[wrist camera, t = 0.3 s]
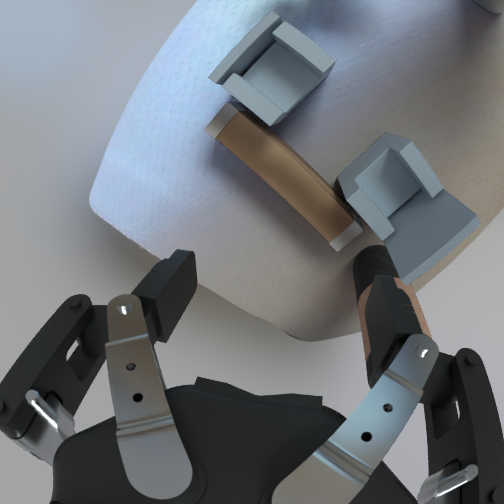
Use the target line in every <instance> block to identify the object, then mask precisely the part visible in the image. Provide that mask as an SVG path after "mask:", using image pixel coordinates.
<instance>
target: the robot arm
mask: <svg viewBox="0 0 504 504" xmlns="http://www.w3.org/2000/svg"><path fill="white" fill-rule="evenodd" d="M475 1H476V2H477V3H478V4H479V5H480V6H481V7H483V8H484V9H485V10H487V11H489V12H491V13H494V14H499V13H503V12H504V0H475ZM196 287H197V273H196V262H195V254H194V252H193V251H187V250H180V249H177V250H176V251H175V252H174V253H173V254H172V255H171V257H170V258H169V259H166V258H165V259H164V260H162V261H160V262H159V263H157V264H156V265H155V266H154V267H153V268H152V269H151V272H149V273H148V274H147V275H146V277H144V279H143V280H142V281H141V282H140V283H139V284H138V285H137V287H136V288H135V289H134V290H133V291H132V293H131V294H123V295H119V296H117V297H115V298H113V299H112V300H111V301H110V302H109V303H108V305H92V302H91V300H90V298H89V297H88V296H87V295H84V294H78V295H74V296H72V297H70V298H68V299H67V300H66V301H65V302H64V303H63V304H62V305H61V306H60V307H59V308H58V309H57V311H56V312H55V313H54V314H53V315H52V316H51V318H50V319H49V320H48V321H47V322H46V323H45V325H44V326H43V327H42V328H41V329H40V331H39V332H38V333H37V334H36V336H35V337H34V338H33V339H32V341H31V342H30V343H29V345H28V346H27V347H26V348H25V350H24V351H23V352H22V354H21V355H20V356H19V358H18V359H17V360H16V362H15V363H14V365H13V366H12V367H11V369H10V370H9V372H8V373H7V374H6V376H5V377H4V379H3V380H2V382H1V383H0V430H1V431H2V432H3V433H4V434H5V435H6V436H7V437H8V438H9V439H11V440H12V441H13V442H15V443H16V444H17V445H19V446H20V447H21V448H23V449H24V450H25V451H28V452H30V453H31V454H33V455H34V456H36V457H37V458H38V459H41V460H44V461H45V462H47V463H48V464H50V465H51V466H52V467H53V492H52V498H51V501H50V504H504V439H503V433H502V428H501V423H500V419H499V414H498V411H497V407H496V402H495V399H494V395H493V392H492V388H491V385H490V382H489V379H488V376H487V373H486V370H485V367H484V364H483V361H482V359H481V357H480V356H479V355H478V354H477V353H476V352H475V351H474V350H472V349H469V348H462V349H460V350H459V351H458V352H457V354H456V355H455V356H452V355H448V354H445V353H442V352H439V349H438V346H437V344H436V343H435V342H434V341H433V340H432V339H431V338H430V337H428V336H426V335H424V334H423V332H422V329H421V326H420V323H419V321H418V318H417V315H416V313H415V310H414V308H413V306H412V303H411V300H410V298H409V296H408V295H407V294H406V293H405V292H404V291H403V289H399V288H398V287H397V285H396V282H395V280H394V278H393V277H392V276H385V275H376V276H375V278H374V281H373V284H372V287H371V290H370V293H369V296H368V299H367V302H366V306H365V320H366V325H367V331H368V337H369V343H370V349H371V356H372V363H373V370H374V374H383V375H382V376H381V378H380V379H379V380H378V382H377V383H376V384H375V386H374V387H373V388H372V389H371V391H370V392H369V393H368V395H367V396H366V397H365V399H364V400H363V401H362V402H361V403H360V404H359V406H358V407H357V408H356V409H355V411H354V412H353V413H352V414H351V415H350V416H349V417H348V418H347V419H346V418H345V417H344V416H343V415H341V414H340V413H339V412H337V411H335V410H333V409H331V408H329V407H326V406H323V405H322V398H323V397H322V396H311V395H301V394H280V395H266V396H258V395H254V394H252V393H249V392H247V391H244V390H242V389H239V388H237V387H235V386H232V385H230V384H228V383H224V382H219V381H214V380H210V379H206V378H201V377H197V379H196V382H195V384H194V385H182V386H176V387H173V388H169V389H167V387H166V385H165V382H164V378H163V376H162V372H161V369H160V366H159V362H158V359H157V356H156V352H155V349H154V344H155V343H156V341H160V342H164V343H166V342H167V341H168V339H169V337H170V335H171V334H172V332H173V330H174V328H175V327H176V325H177V323H178V321H179V320H180V318H181V316H182V314H183V312H184V311H185V309H186V307H187V306H188V304H189V302H190V300H191V299H192V297H193V295H194V293H195V291H196ZM75 340H77V342H78V344H79V345H78V346H77V348H76V349H75V351H74V352H73V353H72V355H71V357H70V358H69V359H68V361H67V360H66V356H67V352H68V350H69V349H70V347H71V346H72V344H73V343H74V342H75ZM105 360H107V368H108V376H109V383H110V389H111V396H112V402H113V407H114V412H115V416H113V417H111V418H109V419H107V420H105V421H103V422H101V423H99V424H96V425H95V426H92V427H90V428H88V429H85V430H83V431H81V432H79V433H76V434H75V430H74V427H75V423H74V418H73V417H74V415H75V413H76V411H77V409H78V407H79V405H80V403H81V402H82V400H83V398H84V396H85V395H86V393H87V391H88V389H89V387H90V386H91V384H92V382H93V380H94V379H95V377H96V375H97V373H98V371H99V370H100V368H101V367H102V365H103V363H104V362H105ZM456 401H458V405H459V410H460V417H459V419H458V414H457V408H456V403H455V402H456ZM418 403H422V404H424V412H425V420H426V431H427V444H428V462H429V463H428V465H429V477H428V478H427V479H426V480H425V481H424V483H423V484H422V486H421V489H420V492H419V494H418V496H417V499H418V500H416V499H415V497H414V496H413V495H412V494H411V493H410V492H409V491H408V489H407V488H406V487H405V486H404V485H403V484H402V483H401V482H400V480H399V479H398V478H397V477H396V476H395V475H394V473H393V472H392V471H391V470H390V469H389V468H388V466H387V465H386V464H385V463H384V462H383V461H382V459H383V458H384V456H385V455H386V454H387V452H388V451H389V449H390V448H391V446H392V445H393V444H394V442H395V441H396V439H397V438H398V436H399V434H400V433H401V431H402V430H403V428H404V427H405V425H406V423H407V422H408V420H409V418H410V417H411V415H412V413H413V411H414V410H415V408H416V406H417V404H418Z"/></svg>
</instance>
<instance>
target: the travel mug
mask: <svg viewBox="0 0 504 504" xmlns="http://www.w3.org/2000/svg"><path fill="white" fill-rule="evenodd" d="M353 274H354V281H355V289H356V297H357V305H358V312H359V318H360V324H361V331H362V337H363V343H364V352H365V360H366V368H367V377H368V384H369V386H370V388H371V389H372V388H373V387H374V386H375V384H376V383H377V382H378V380H379V379H380V378H381V376H382V375H383V374H374V370H373V363H372V356H371V349H370V343H369V337H368V331H367V325H366V320H365V306H366V302H367V299H368V296H369V293H370V290H371V287H372V284H373V281H374V278H375V276H376V275H385V276H392V277H393V278H394V280H395V282H396V285H397V287H398V288H399V289H403V291H404V292H405V293H406V294H407V295H408V296H409V298H410V300H411V303H412V306H413V308H414V310H415V313H416V315H417V318H418V321H419V323H420V326H421V329H422V332H423V334H424V335H426V336H428V337H430V338H431V339H432V337H431V334H430V331H429V328H428V325H427V322H426V320H425V317H424V314H423V312H422V309H421V307H420V304H419V302H418V299H417V297H416V294H415V292H414V289H413V287H412V285H411V283H410V284H409V285H408V286H405V285H404V283H403V282H402V281H401V279H400V277H399V274H398V272H397V270H396V267H395V265H394V263H393V261H392V258H391V256H390V254H389V252H388V250H387V248H386V247H385V246H382V245H374V246H370V247H367V248H365V249H364V250H362V251H361V252H360V253H359V254H358V255H357V257H356V258H355V261H354V264H353Z"/></svg>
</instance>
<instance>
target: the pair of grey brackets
mask: <svg viewBox="0 0 504 504" xmlns="http://www.w3.org/2000/svg"><path fill="white" fill-rule="evenodd" d="M335 62H336V60H335V59H334V58H333V57H332V56H331V55H329V54H328V53H327V52H326V51H325V50H323V49H322V48H321V47H320V46H319V45H317V44H316V43H315V42H313V41H312V40H311V39H310V38H308V37H307V36H306V35H304V34H303V33H302V32H300V31H299V30H298V29H296V28H295V27H293V26H292V25H290V24H289V23H288V22H286V21H284V22H283V23H282V20H281V17H280V16H279V15H277V14H276V13H274V12H273V11H271V12H270V13H269V14H267V15H266V16H265V17H264V18H263V19H262V20H261V21H260V22H259V23H258V24H257V25H256V26H255V27H254V28H253V29H252V30H251V31H250V32H249V33H248V34H247V35H246V36H245V37H244V38H243V39H242V40H241V41H240V42H239V43H238V44H237V45H236V46H235V47H234V48H233V49H232V50H231V52H230V53H229V54H228V55H227V56H226V57H225V58H224V59H223V60H222V62H221V63H220V64H219V65H218V66H217V67H216V68H215V70H214V71H213V72H212V73H211V74H210V76H209V77H208V78H209V79H210V80H212V81H213V82H214V83H216V84H220V85H222V86H221V87H222V88H224V89H225V90H226V91H227V92H229V93H230V94H231V95H233V96H234V97H235V98H236V99H238V100H239V101H240V102H241V103H243V104H244V105H245V106H246V107H248V108H249V109H250V110H251V111H253V112H254V113H255V114H256V115H257V116H259V117H260V118H261V119H262V120H263V121H264V122H266V123H267V124H268V125H269V126H272V125H274V124H277V123H280V122H281V121H282V120H283V119H284V118H285V117H286V116H287V115H288V114H289V113H290V112H291V111H292V110H293V109H294V108H295V107H296V106H297V105H298V104H299V103H300V102H301V101H302V100H303V99H304V98H305V97H306V96H307V95H308V94H309V93H310V92H311V91H312V90H313V89H314V88H315V87H316V86H317V85H318V84H319V83H320V82H321V81H322V80H323V79H324V78H325V77H327V76H328V75H329V73H330V71H331V70H332V68H333V66H334V64H335ZM337 178H338V180H339V183H340V185H341V188H342V190H343V193H344V195H345V198H346V200H347V201H348V202H349V204H350V205H351V206H352V207H353V208H354V209H355V210H356V211H357V212H358V213H359V215H360V216H361V217H362V218H363V219H364V220H365V221H366V222H367V224H368V225H369V226H370V227H371V228H372V229H373V231H374V232H375V233H376V234H377V235H378V236H379V238H380V239H381V240H382V241H384V243H385V245H386V248H387V250H388V252H389V254H390V256H391V258H392V261H393V263H394V265H395V267H396V270H397V272H398V274H399V277H400V279H401V281H402V282H403V283H404V285H405V286H408V285H409V284H410V283H412V282H413V281H414V280H416V279H417V278H418V277H420V276H421V275H422V274H423V273H425V272H426V271H427V270H429V269H430V268H431V267H432V266H434V265H435V264H436V263H437V262H439V261H440V260H441V259H442V258H443V257H445V256H446V255H447V254H448V253H449V252H451V251H452V250H453V249H454V248H455V247H456V246H457V245H459V244H460V243H461V242H462V241H463V240H464V239H465V238H466V237H468V236H469V235H470V234H471V233H472V232H473V231H474V230H475V229H476V228H477V227H478V226H479V225H480V224H481V222H480V220H479V218H478V216H477V215H476V214H475V213H474V212H473V211H471V210H470V209H469V208H468V207H466V206H465V205H464V204H463V203H461V202H460V201H459V200H458V199H456V198H455V197H454V196H452V195H451V194H450V193H448V192H447V191H446V190H444V189H443V188H444V186H443V185H442V183H441V182H440V180H439V179H438V177H437V175H436V174H435V172H434V171H433V169H432V168H431V166H430V165H429V164H428V162H427V161H426V159H425V158H424V156H423V155H422V154H421V152H420V151H419V150H418V148H417V147H416V146H415V144H414V143H413V142H412V141H411V140H408V139H405V138H403V137H400V136H397V135H393V134H390V133H387V132H385V133H384V134H383V135H382V136H381V137H380V138H379V139H378V140H377V141H376V142H375V143H373V144H372V145H371V146H370V147H369V148H368V149H367V150H366V151H365V152H364V153H363V154H362V155H360V156H359V157H358V158H357V159H356V160H355V161H354V162H353V163H352V164H351V165H350V166H349V167H347V168H346V169H345V170H344V171H343V172H342V173H341V174H340V175H339V176H338V177H337Z"/></svg>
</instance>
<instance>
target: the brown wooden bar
mask: <svg viewBox="0 0 504 504" xmlns="http://www.w3.org/2000/svg"><path fill="white" fill-rule="evenodd" d="M204 131H205V132H207V133H208V134H209V135H210V136H212V137H213V138H214V139H217V140H219V141H220V142H221V143H222V144H223V145H224V146H226V147H227V148H228V149H229V150H230V151H232V152H233V153H234V154H235V155H236V156H237V157H239V158H240V159H241V160H242V161H243V162H244V163H245V164H247V165H248V166H249V167H250V168H251V169H252V170H253V171H254V172H256V173H257V174H258V175H259V176H260V177H261V178H262V179H263V180H265V181H266V182H267V183H268V184H269V185H270V186H271V187H272V188H273V189H274V190H276V191H277V192H278V193H279V194H280V195H281V196H282V197H283V198H284V199H285V200H286V201H287V202H288V203H290V204H291V205H292V206H293V207H294V208H295V209H296V210H297V211H298V212H299V213H300V214H301V215H302V216H303V217H304V218H305V219H306V220H307V221H308V222H309V223H310V224H311V225H312V226H314V227H315V228H316V229H317V230H318V231H319V232H320V233H321V234H322V235H323V236H324V237H325V238H326V239H327V240H328V241H329V244H330V245H331V246H332V247H333V248H334V249H335V250H336V251H337V252H338V251H339V250H341V249H342V248H343V247H344V246H346V245H347V244H348V243H349V242H351V241H352V240H353V239H354V238H355V237H357V236H358V235H359V234H360V233H361V232H363V231H364V230H363V228H362V225H361V222H360V220H359V218H358V215H357V213H356V212H355V211H354V210H353V208H352V207H351V206H350V205H348V204H347V203H346V202H345V201H344V200H343V199H342V198H341V197H340V196H339V194H338V193H337V192H336V191H335V190H334V189H333V188H332V187H331V186H330V185H329V184H328V183H327V182H326V181H325V180H324V179H323V178H322V177H321V176H320V175H319V174H318V173H317V172H316V171H315V170H314V169H313V168H312V167H311V166H310V165H309V164H308V163H307V162H306V161H305V160H304V159H303V158H302V157H300V156H299V155H298V154H297V153H296V152H295V151H294V150H293V149H292V148H291V147H290V146H289V145H288V144H286V143H285V142H284V141H283V140H282V139H281V138H280V137H279V136H278V135H276V134H275V133H274V132H273V131H272V130H271V129H270V128H268V127H267V126H266V125H265V124H264V123H263V122H261V121H260V120H259V119H258V118H257V117H256V116H254V115H253V114H252V113H251V112H250V111H249V110H248V109H247V108H246V107H245V106H243V105H242V104H241V103H237V102H227V103H226V104H225V105H224V106H223V107H222V109H221V110H220V111H219V112H218V113H217V115H216V116H215V117H214V118H213V119H212V121H211V122H210V123H209V124H208V126H207V127H206V128H205V130H204Z"/></svg>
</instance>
